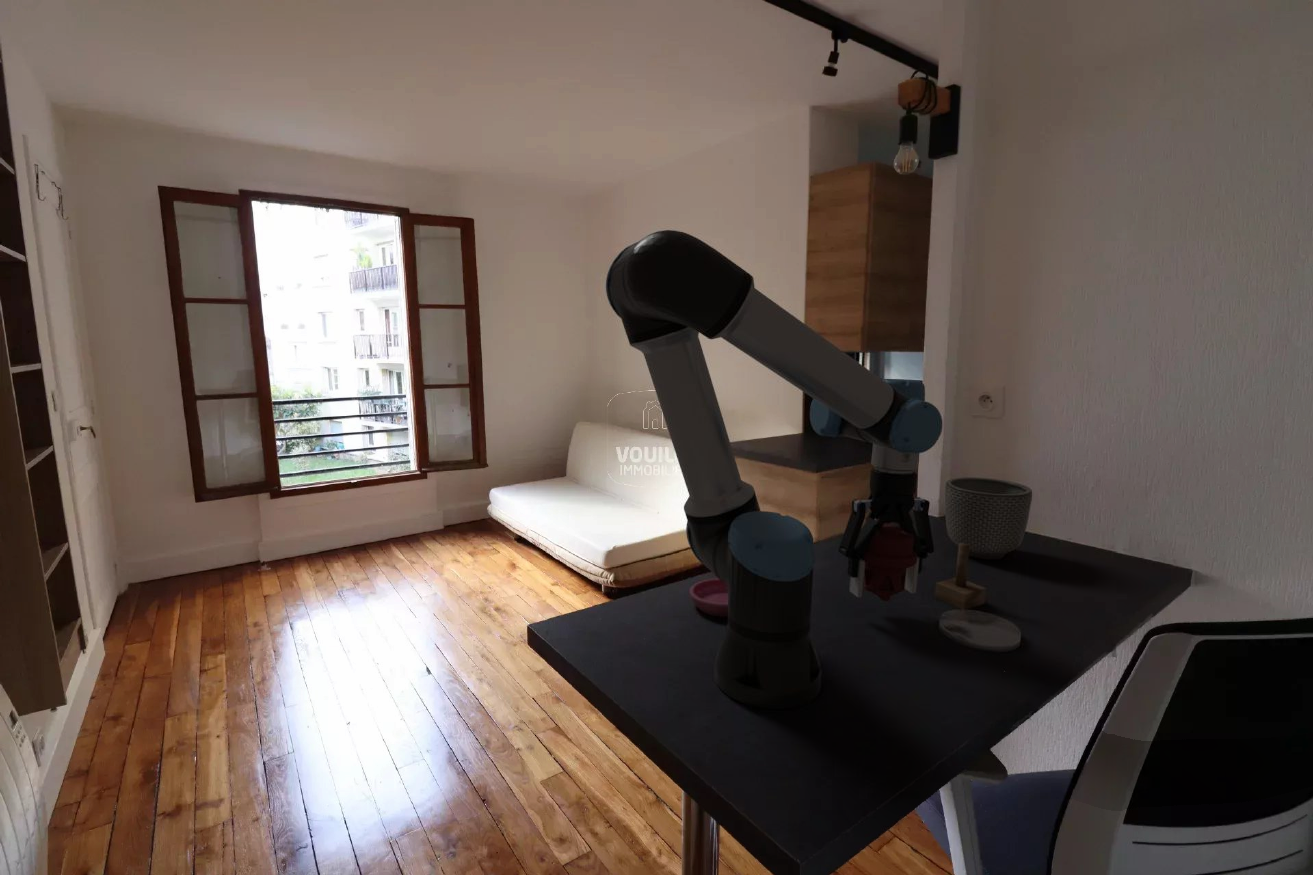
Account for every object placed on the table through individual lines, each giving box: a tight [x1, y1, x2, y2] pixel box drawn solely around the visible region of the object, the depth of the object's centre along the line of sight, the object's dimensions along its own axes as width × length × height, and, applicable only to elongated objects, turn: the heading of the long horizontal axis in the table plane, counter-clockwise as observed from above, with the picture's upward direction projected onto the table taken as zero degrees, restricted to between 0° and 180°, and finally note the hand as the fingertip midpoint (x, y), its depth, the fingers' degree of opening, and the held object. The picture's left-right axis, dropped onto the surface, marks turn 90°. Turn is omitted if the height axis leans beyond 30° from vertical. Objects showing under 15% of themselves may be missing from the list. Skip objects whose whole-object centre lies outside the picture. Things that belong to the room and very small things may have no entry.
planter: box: [944, 477, 1033, 561], centre depth 139 cm, size 17×17×16 cm
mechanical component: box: [861, 523, 917, 602], centre depth 108 cm, size 12×10×10 cm
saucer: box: [689, 578, 728, 618], centre depth 113 cm, size 12×12×3 cm
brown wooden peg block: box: [934, 543, 987, 610], centre depth 114 cm, size 6×6×11 cm
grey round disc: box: [938, 609, 1022, 653], centre depth 102 cm, size 12×12×2 cm
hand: (882, 592), depth 108 cm, fingers closed on mechanical component, 10 cm apart
